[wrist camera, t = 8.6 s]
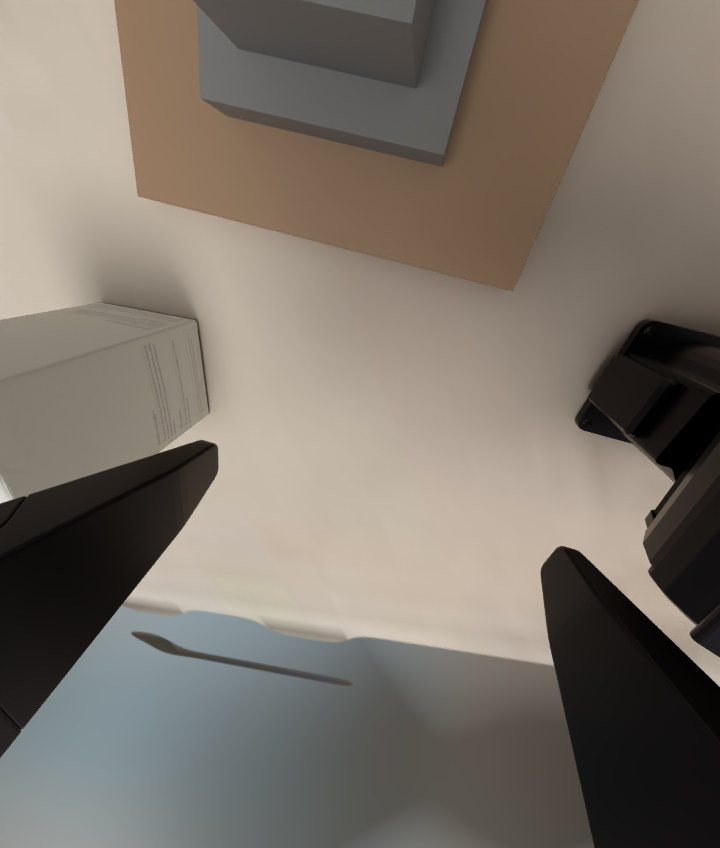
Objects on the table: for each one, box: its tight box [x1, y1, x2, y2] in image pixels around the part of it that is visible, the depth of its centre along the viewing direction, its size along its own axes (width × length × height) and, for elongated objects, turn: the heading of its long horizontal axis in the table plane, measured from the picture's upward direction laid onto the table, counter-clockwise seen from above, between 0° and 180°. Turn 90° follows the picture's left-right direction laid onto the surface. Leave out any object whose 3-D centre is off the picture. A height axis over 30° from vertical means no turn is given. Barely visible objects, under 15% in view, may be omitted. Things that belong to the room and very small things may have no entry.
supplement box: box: [0, 303, 209, 503], centre depth 17 cm, size 7×7×13 cm
